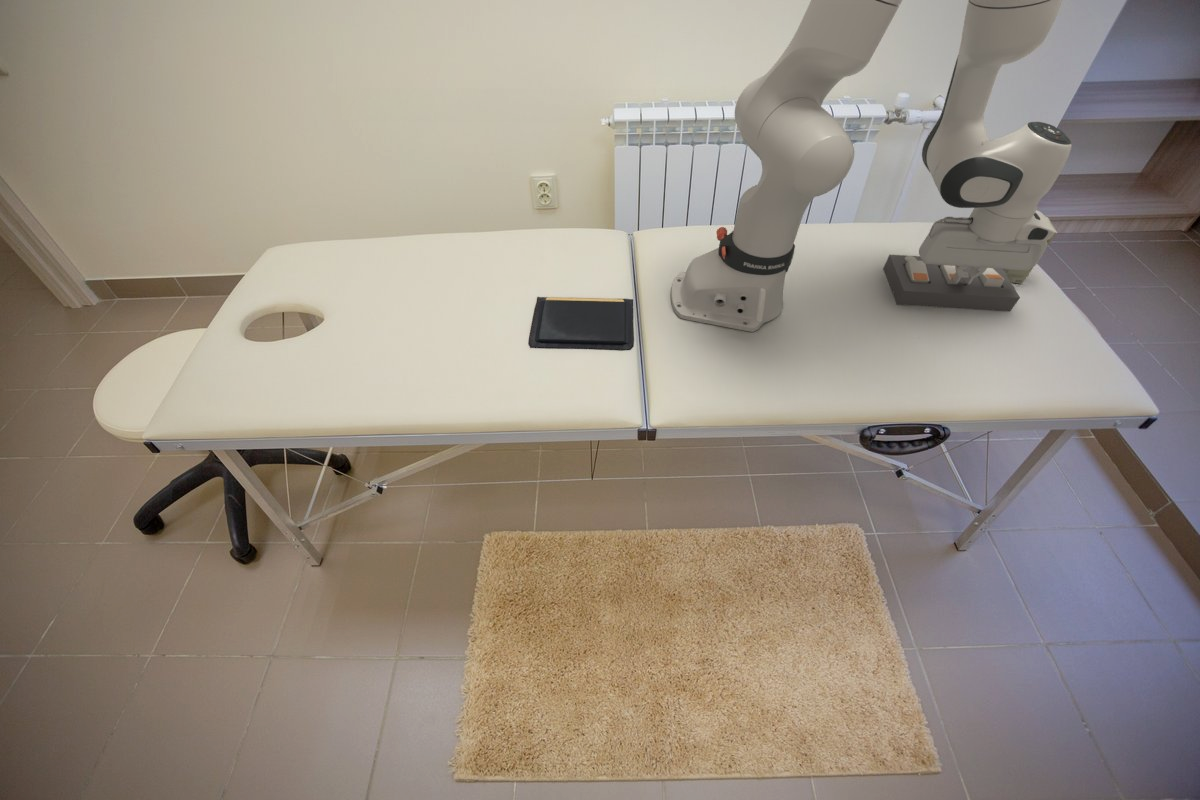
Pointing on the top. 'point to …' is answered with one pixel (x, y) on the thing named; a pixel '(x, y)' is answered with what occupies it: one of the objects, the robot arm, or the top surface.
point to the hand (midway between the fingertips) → (961, 282)
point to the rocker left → (917, 271)
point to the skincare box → (1021, 275)
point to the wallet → (582, 324)
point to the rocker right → (991, 278)
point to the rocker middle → (948, 274)
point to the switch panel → (946, 289)
